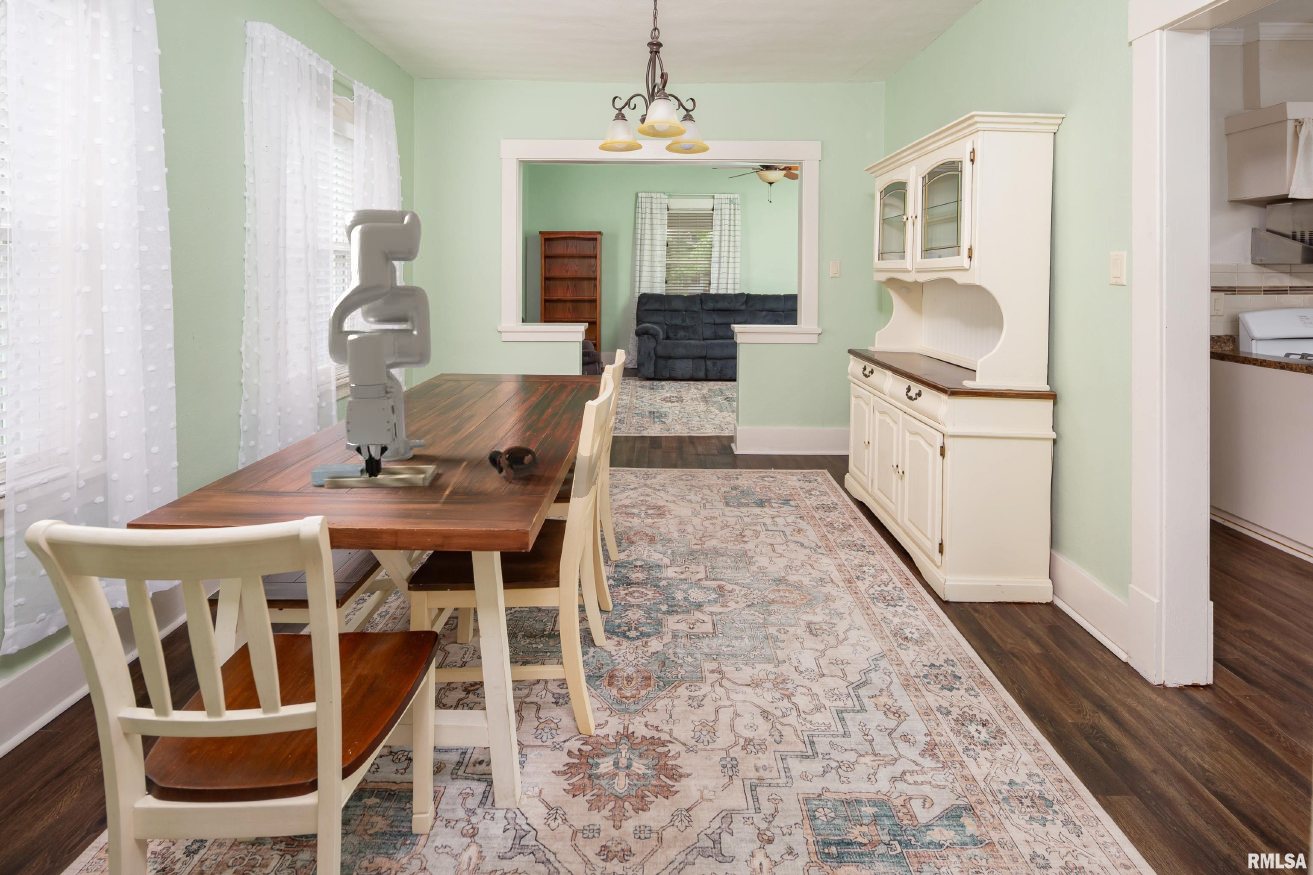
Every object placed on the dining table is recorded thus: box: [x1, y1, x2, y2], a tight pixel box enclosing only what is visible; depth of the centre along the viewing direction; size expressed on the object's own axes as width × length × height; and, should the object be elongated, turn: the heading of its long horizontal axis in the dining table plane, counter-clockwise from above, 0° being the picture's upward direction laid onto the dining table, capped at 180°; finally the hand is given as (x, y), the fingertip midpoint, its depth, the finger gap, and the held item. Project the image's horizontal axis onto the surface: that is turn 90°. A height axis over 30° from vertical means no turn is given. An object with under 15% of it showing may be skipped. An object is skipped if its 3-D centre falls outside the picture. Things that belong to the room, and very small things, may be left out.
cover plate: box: [310, 462, 369, 487], centre depth 175 cm, size 10×7×3 cm
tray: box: [323, 465, 438, 489], centre depth 176 cm, size 21×12×2 cm, turn 96°
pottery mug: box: [487, 445, 540, 484], centre depth 181 cm, size 12×10×8 cm
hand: (374, 475), depth 176 cm, fingers closed
